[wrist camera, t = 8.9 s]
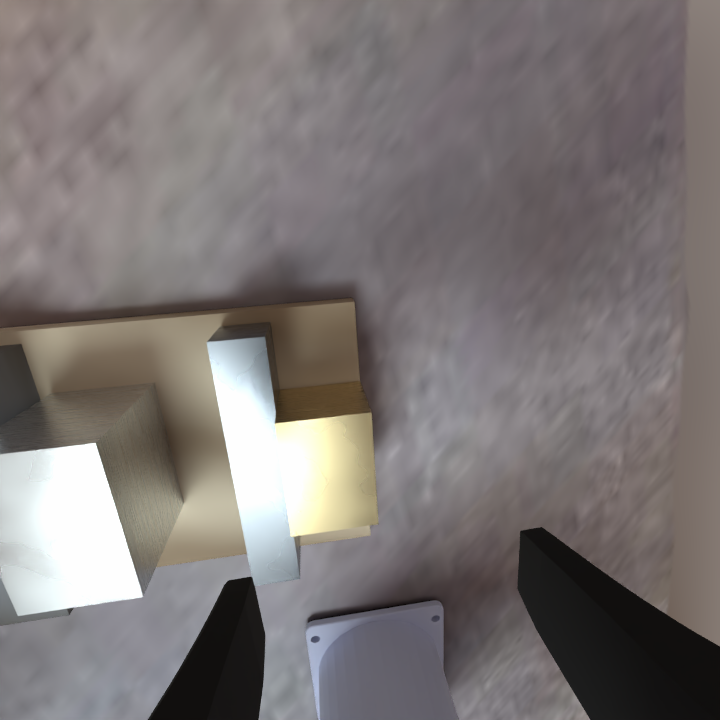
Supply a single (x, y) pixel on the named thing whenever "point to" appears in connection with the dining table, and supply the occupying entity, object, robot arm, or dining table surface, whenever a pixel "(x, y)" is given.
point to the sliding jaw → (290, 452)
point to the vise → (180, 398)
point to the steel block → (85, 498)
